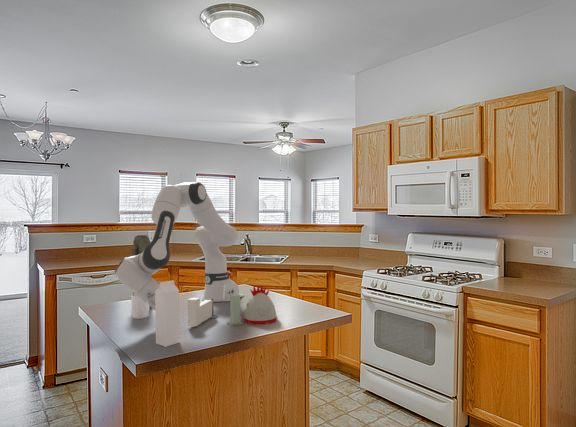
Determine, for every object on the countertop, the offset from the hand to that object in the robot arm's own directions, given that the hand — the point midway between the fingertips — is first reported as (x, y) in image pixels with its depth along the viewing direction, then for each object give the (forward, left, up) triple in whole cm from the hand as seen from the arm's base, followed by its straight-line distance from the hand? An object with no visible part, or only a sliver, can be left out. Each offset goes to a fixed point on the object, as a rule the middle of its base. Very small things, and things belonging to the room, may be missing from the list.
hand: (175, 314), depth 163 cm
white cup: (-1, -27, -6) cm, 27 cm away
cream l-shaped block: (-11, +3, -4) cm, 12 cm away
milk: (+13, +13, -6) cm, 19 cm away
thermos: (-11, -42, -6) cm, 43 cm away
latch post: (-19, +15, -5) cm, 24 cm away
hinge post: (-20, -2, -5) cm, 20 cm away
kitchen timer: (-29, +19, -6) cm, 35 cm away
